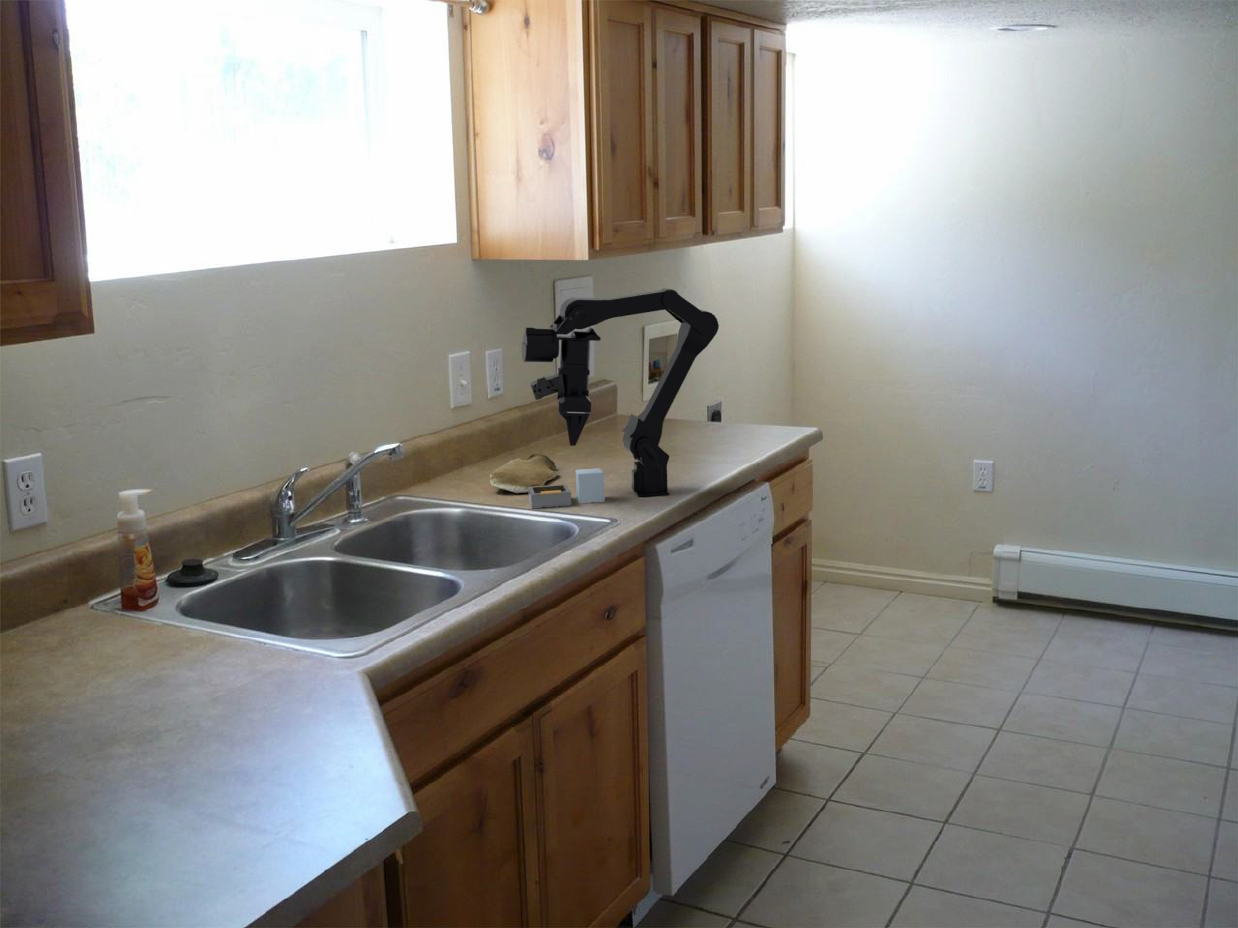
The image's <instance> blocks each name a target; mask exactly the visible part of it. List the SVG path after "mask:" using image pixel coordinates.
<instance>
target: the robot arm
mask: <svg viewBox="0 0 1238 928" xmlns="http://www.w3.org/2000/svg"><path fill="white" fill-rule="evenodd" d="M664 310H665V311H666V312H667V313H668V314H669V315H671V316H672V317H673V318H674V319H675V320H676V321H677V322H678V323H680V326H679V330H678V332H677V339H676V347H675V349H674V351H673V353H672V355H671V357H670V359H669V361H668V363H667V364H666V366H665V369H664V371H663V372H662V375H661V376H660V379H659V380H658V383H657V385H656V387H655V388H654V389H653V390H654V391H653V393H652V394H651V397H650V398H649V400H648V402H647V404H646V406H645V408H644V409H643V411H642V412H641V413H640V414H638V416H636V415H635V414H633V413H631V414H630V416H629V417H628V421H627V425H626V426H625V427H624V428H623V429H622V430H621V432H622V433H623V435H622V443H623V446H624V448H625V450H626V451H628V452H629V453H630V454H631V455H632V457H633V459H634V460H635V461H633V469H631V490H632V491H633V492H634V493H635V494H636V496H638V497H651V496H663V495H670V490H669V489H668V463H669V459H670V455H669V454H668V453H667V452H666V451H665V450H663V449H662V448H661V447H660V446H659V445H660V442H661V439H662V435H663V428H664V422H665V419H666V417H667V415H668V413H669V411H670V409H671V407H672V405H673V403H674V401H675V399H676V397H677V395H678V393H679V392H680V389H681V387H682V385H683V383H684V381H685V380H686V378H687V375H688V374H689V371H690V370H691V368H692V366H693V365H694V364H693V363H694V362H695V360H696V358H697V357H698V356H699V354H701V353H702V352H703V351H704V350H705V349H706V348H707V347H708V346H709V344H710V343H711V342H712V341H713V339H714V338H715V337H716V335H717V334H718V331H719V327H720V324H719V321H718V318H717V317H716V315H715V314H714V313H713V312H709V311H707V310H703V309H699V308H698V307H697V306H696V305H694V304H692V303H691V302H690V301H688V299H685V298H684V297H683V296H681V295H680V294H679V293H678V292H677V290H674V289H671V288H667V287H666V288H661V289H659V290H653V291H647V292H640V293H633V294H628V295H621V296H614V297H609V298H608V297H607V298H595V297H569V298H567V299H565V300H564V301H563V302H562V304H561V305H560V309H559V314H558V316H557V317H556V318H555V320H554V321H553V322H552V323H551V325H550V326H549V327H533V326H524V333H523V337H522V342H521V359H522V362H523V363H553V361H554V359H557V358H558V357H560V359H559V361H560V362H559V367H558V370H557V373H556V374H553V375H548V376H542V377H540V378H538V377H537V379H536V380H533V381H531V382H530V388H531V390H532V391H531V392H532V393H533V397H534V400H535V401H538V400H541V399H543V398H544V397H547V396H551V395H554V394H556V401H557V402H556V403H557V408H558V409H557V411H558V414H559V415H560V416H561V417H563V419H564V420H565V422H566V429H567V434H568V435H567V436H568V441H569V446H571V447H572V446H573V447H575V446H577V443H578V441H579V438H580V437H581V434H582V432H583V430H584V427H585V425H586V424H587V421H588V419H589V417H590V415H591V413H592V401H591V399H590V398H589V395H590V394H589V393H590V391H589V390H590V389H589V386H590V385H589V384H590V383H589V381H590V379H589V378H590V373H591V372H590V371H591V370H590V360H591V359H590V357H591V341H592V342H593V341H597V342H599V341H601V340H602V339H601V336H599V335H598V334H597V332H596V330H595V328H593V326H596V325H599V324H601V323H603V322H605V321H607V320H611V319H613V318H621V317H626V316H632V315H633V316H634V315H638V314H646V313H652V312H658V311H664ZM586 328H587V330H585V331H583V330H584V329H586ZM581 330H582V331H581ZM569 334H570V335H569ZM559 354H560V356H559Z"/></svg>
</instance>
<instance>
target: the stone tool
mask: <svg viewBox="0 0 1238 928" xmlns="http://www.w3.org/2000/svg"><path fill="white" fill-rule="evenodd" d="M555 469H557V465H556V464H555V462H554V461H553V460H552V459H551V458H550V457H548V455H545V454H541V453H534V454H531V455H530V456H529V457H528V458H527V460H526V459H525V460H524V459H521V458H520V457H518V458H516V459H511V460H510V461H508V462H506V463H504V464H502V465H500V466H499V467H498V468H496V469H494V470H493V471H492V472H491V474H490V475H489V476H490V480H489V482H490V485H491V487H493V488H497V489H501V490H505V491H508V492H512V493H515V494H522V493H523V494H524V493H528V487H534V486H545V483H547V482H549V481H552V480H554V479H555V478H557V475H558V473H559V472H557V471H556V470H555Z"/></svg>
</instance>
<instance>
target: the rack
mask: <svg viewBox="0 0 1238 928" xmlns="http://www.w3.org/2000/svg"><path fill="white" fill-rule="evenodd" d="M527 494H528V495H527V496H528V498H527V499H528V503H529V502H530V503H529V505H530V508H531V507H532V508H535V509H543V508H542V507H548V508H557V507H558V508H560V507H559V506H562V507H572V493H571V490H570V488H569V486H568V484H567V483H564V484H551V485H543V486H534V487H528V492H527ZM532 508H531V509H532Z"/></svg>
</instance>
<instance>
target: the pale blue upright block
mask: <svg viewBox="0 0 1238 928" xmlns="http://www.w3.org/2000/svg"><path fill="white" fill-rule="evenodd" d="M604 475H605V474H604V471H603V470H602V468H601V467H599V468H597V467H596V468H585V469H575V483H576V487H575V489H576V500H577V501H578V503H579V504H580V503H581V504H590V503H591V502H595V503H605V501H606V499H605V482H604V481H605V478H604V477H605V476H604ZM591 504H592V503H591Z"/></svg>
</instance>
